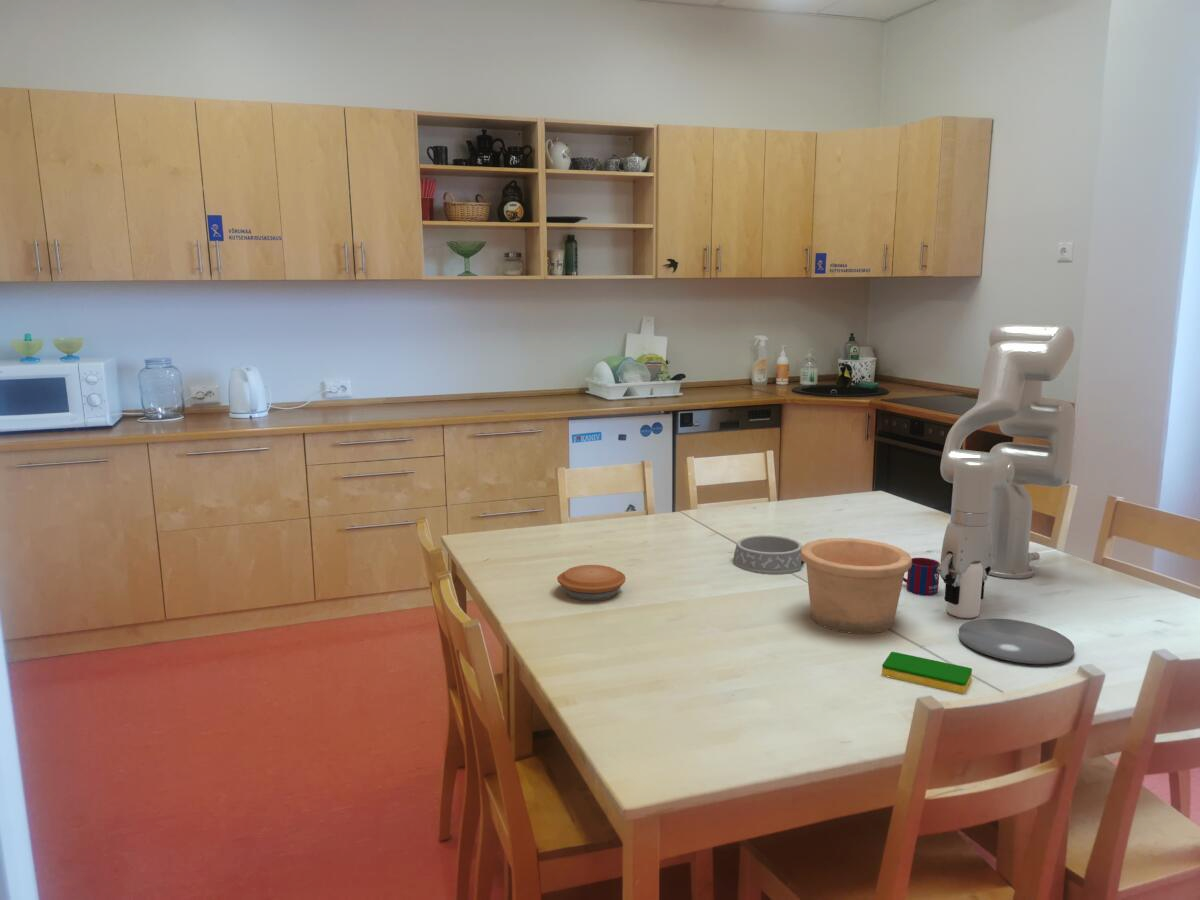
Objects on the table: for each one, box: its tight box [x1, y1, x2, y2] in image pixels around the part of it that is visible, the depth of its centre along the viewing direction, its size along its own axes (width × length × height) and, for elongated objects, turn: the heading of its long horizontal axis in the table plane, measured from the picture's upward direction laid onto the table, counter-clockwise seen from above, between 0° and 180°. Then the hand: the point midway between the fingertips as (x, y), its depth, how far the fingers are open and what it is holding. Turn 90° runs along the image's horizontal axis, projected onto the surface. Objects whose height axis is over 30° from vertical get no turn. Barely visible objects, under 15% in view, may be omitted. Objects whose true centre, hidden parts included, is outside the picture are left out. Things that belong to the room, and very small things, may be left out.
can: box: [945, 562, 983, 620], centre depth 180 cm, size 6×6×12 cm
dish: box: [958, 617, 1075, 665], centre depth 165 cm, size 20×20×1 cm
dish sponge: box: [881, 651, 973, 694], centre depth 151 cm, size 7×14×2 cm, turn 58°
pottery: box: [801, 537, 912, 634], centre depth 177 cm, size 22×22×14 cm
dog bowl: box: [732, 534, 803, 576], centre depth 215 cm, size 17×18×5 cm
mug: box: [903, 557, 941, 596], centre depth 196 cm, size 7×10×7 cm
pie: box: [556, 564, 626, 602], centre depth 194 cm, size 15×16×5 cm
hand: (963, 599), depth 180 cm, fingers closed on can, 6 cm apart
